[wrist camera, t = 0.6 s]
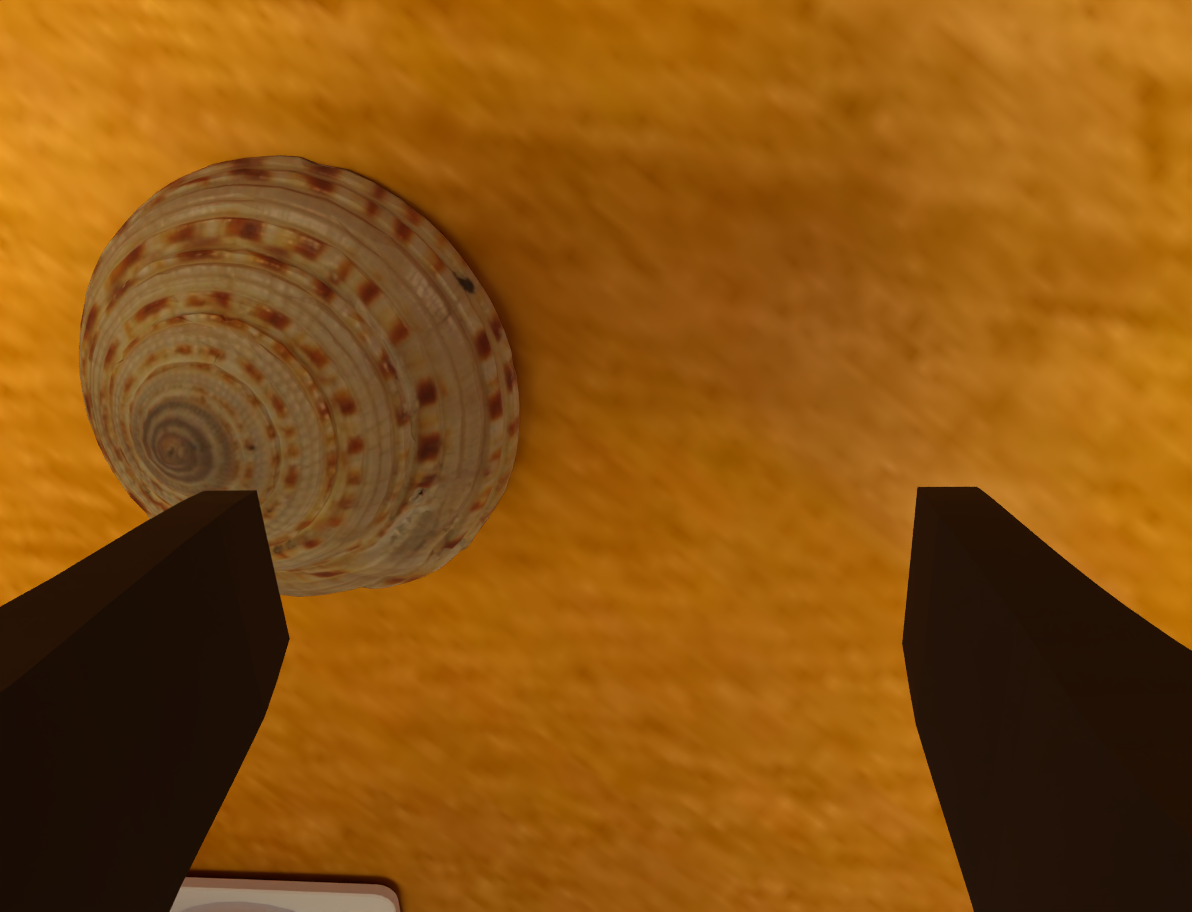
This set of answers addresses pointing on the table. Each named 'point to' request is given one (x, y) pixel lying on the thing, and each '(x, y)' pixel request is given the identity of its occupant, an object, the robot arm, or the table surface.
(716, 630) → the table surface
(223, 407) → the seashell
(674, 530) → the table surface
